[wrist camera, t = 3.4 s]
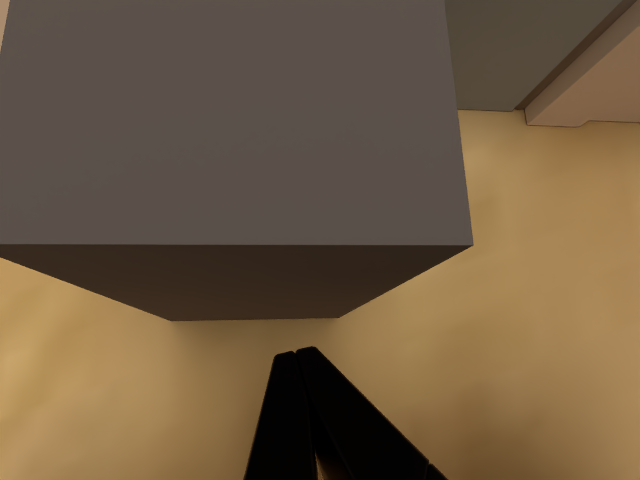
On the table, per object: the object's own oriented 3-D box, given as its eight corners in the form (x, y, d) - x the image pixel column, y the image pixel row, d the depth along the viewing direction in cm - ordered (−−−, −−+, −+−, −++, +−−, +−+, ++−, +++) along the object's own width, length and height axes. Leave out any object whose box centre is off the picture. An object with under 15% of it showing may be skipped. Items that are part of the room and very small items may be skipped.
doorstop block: (338, 317, 16) (473, 245, 6) (170, 321, 15) (-36, 243, 5) (331, 145, 18) (425, -156, 7) (181, 140, 17) (46, -200, 7)
